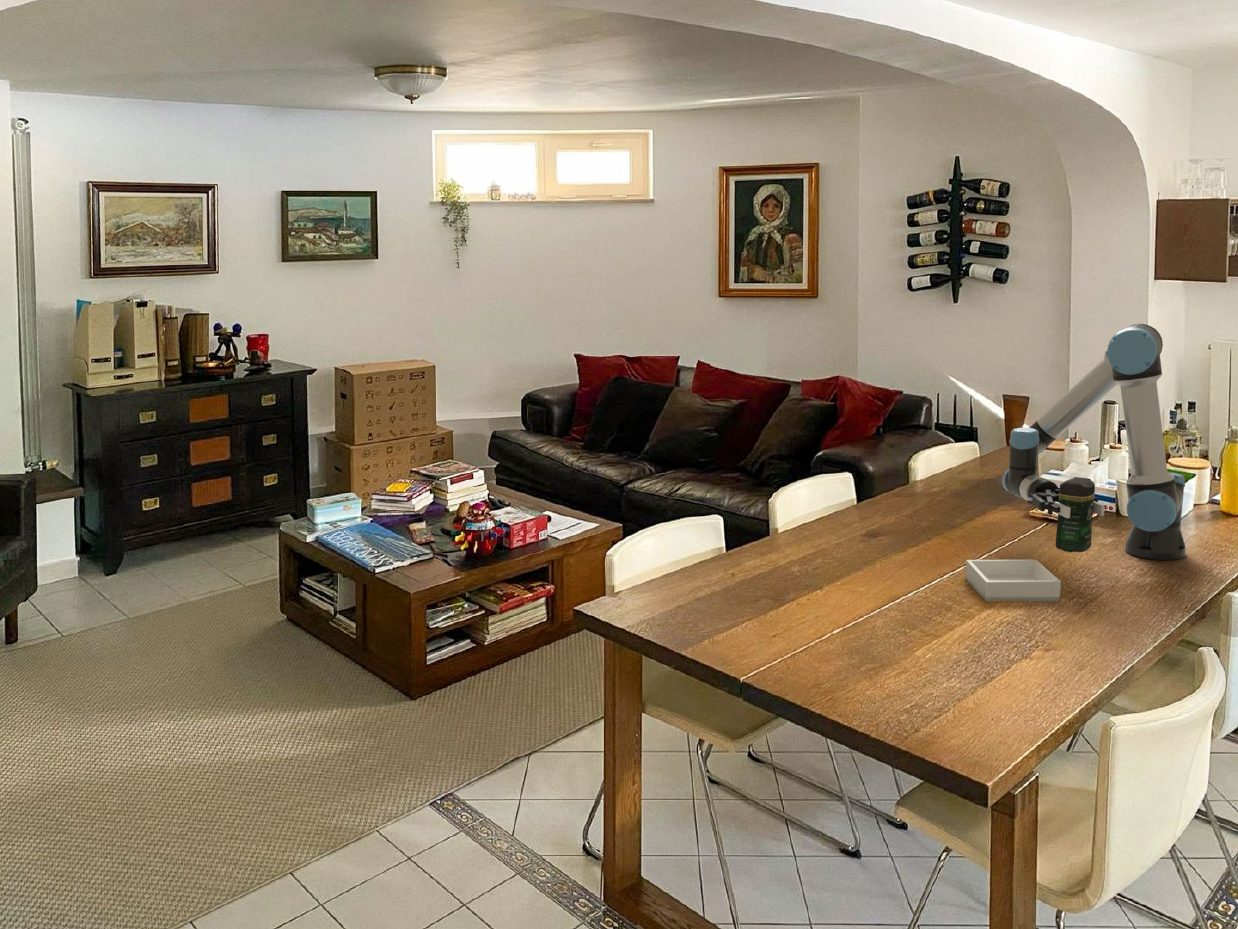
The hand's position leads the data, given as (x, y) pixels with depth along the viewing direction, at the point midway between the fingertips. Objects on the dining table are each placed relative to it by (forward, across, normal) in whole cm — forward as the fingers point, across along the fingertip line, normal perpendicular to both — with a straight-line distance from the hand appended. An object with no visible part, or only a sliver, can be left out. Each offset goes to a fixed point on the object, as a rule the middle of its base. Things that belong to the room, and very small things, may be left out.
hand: (1085, 511), depth 271 cm
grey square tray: (0, +19, -19) cm, 27 cm away
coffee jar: (-5, 0, -11) cm, 12 cm away
